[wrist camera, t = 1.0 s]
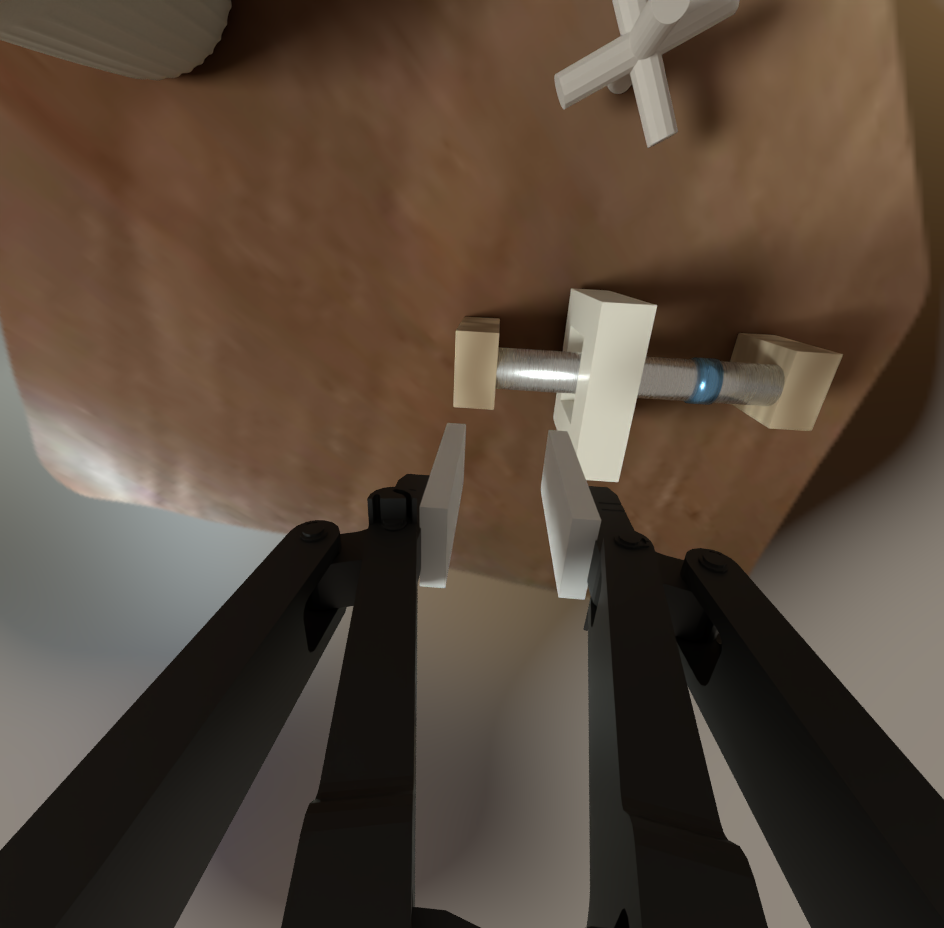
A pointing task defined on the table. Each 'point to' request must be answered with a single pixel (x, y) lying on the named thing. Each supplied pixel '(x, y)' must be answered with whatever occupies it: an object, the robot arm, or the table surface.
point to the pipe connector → (642, 57)
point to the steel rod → (648, 377)
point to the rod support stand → (799, 361)
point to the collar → (603, 376)
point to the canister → (119, 32)
